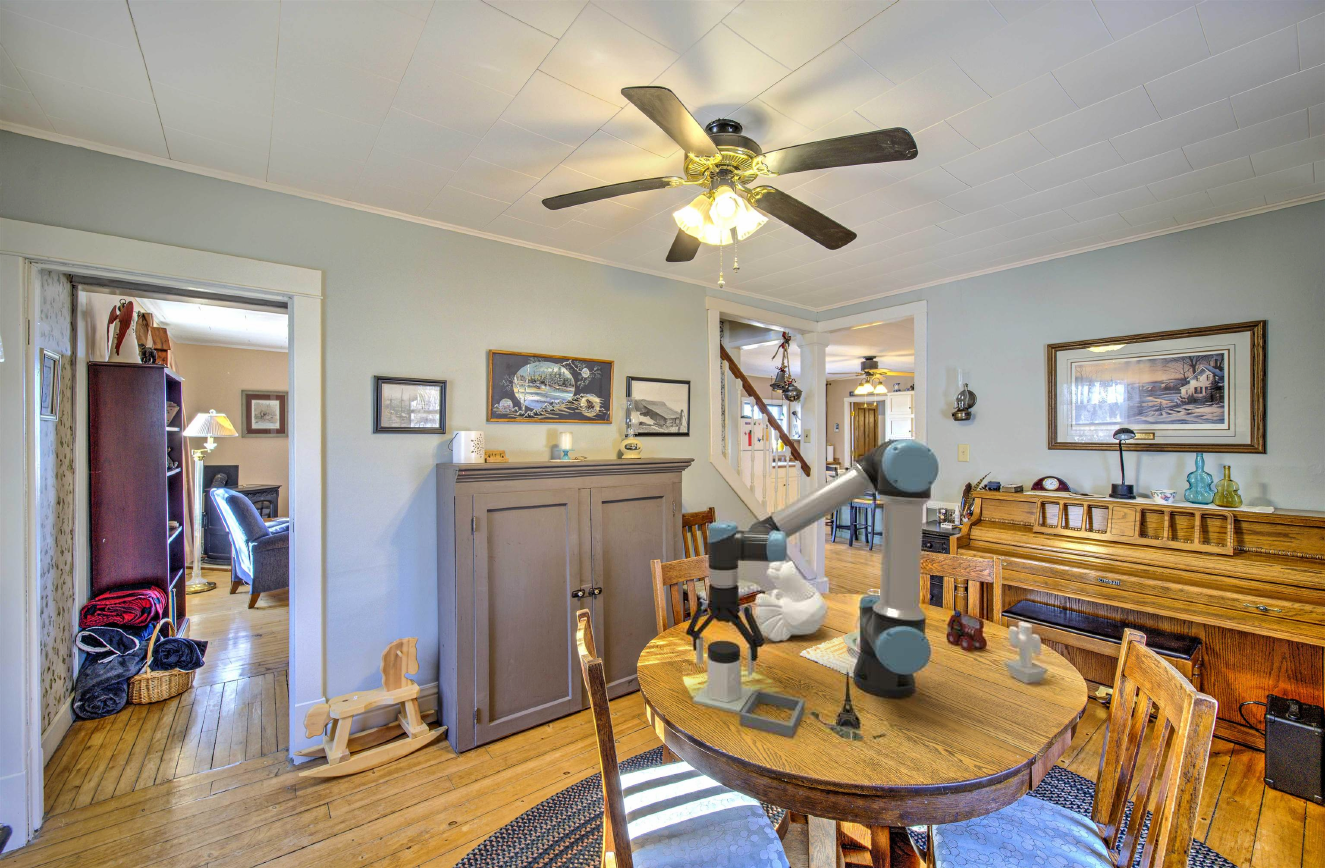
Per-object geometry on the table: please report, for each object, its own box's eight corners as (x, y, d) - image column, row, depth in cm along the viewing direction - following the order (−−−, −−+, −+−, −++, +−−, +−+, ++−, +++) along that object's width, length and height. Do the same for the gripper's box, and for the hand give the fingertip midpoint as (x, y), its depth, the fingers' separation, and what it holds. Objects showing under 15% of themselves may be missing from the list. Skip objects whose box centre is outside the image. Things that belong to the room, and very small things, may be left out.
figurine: (1052, 682, 140) (1051, 626, 141) (1024, 687, 138) (1024, 629, 138) (1026, 671, 147) (1025, 617, 148) (1000, 675, 145) (999, 620, 145)
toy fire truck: (958, 637, 172) (957, 605, 172) (991, 652, 161) (991, 618, 161) (940, 640, 170) (940, 607, 170) (973, 655, 159) (973, 620, 159)
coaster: (754, 692, 136) (754, 689, 136) (739, 714, 126) (739, 710, 126) (710, 682, 142) (710, 679, 142) (692, 702, 131) (692, 699, 131)
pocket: (804, 710, 127) (804, 699, 127) (792, 737, 115) (792, 726, 115) (756, 699, 132) (755, 689, 132) (739, 724, 121) (739, 713, 121)
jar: (720, 706, 128) (720, 656, 128) (700, 692, 134) (699, 645, 135) (748, 695, 133) (748, 647, 133) (727, 683, 139) (726, 637, 139)
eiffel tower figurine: (806, 714, 126) (806, 658, 126) (840, 706, 130) (840, 651, 130) (851, 748, 112) (851, 685, 112) (888, 737, 116) (887, 676, 116)
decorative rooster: (817, 603, 187) (772, 549, 187) (843, 608, 172) (795, 549, 172) (770, 655, 179) (723, 599, 179) (793, 665, 164) (742, 604, 164)
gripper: (776, 585, 132) (777, 671, 131) (684, 575, 143) (685, 654, 143) (768, 593, 125) (769, 684, 125) (672, 582, 136) (673, 665, 136)
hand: (724, 668), depth 134 cm, fingers open, 13 cm apart
